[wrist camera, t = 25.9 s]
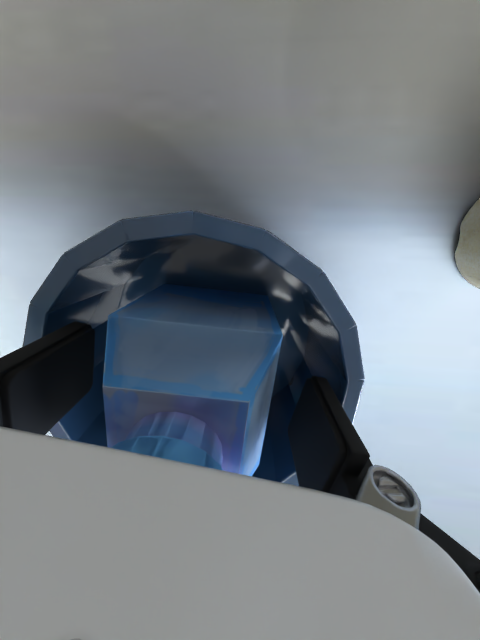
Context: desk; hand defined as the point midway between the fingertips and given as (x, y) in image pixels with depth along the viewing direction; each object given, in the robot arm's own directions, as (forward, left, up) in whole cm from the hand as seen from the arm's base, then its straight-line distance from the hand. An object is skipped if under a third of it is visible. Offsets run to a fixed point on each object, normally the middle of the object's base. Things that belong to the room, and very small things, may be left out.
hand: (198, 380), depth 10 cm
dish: (0, 0, -6) cm, 6 cm away
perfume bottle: (0, 0, -5) cm, 5 cm away
